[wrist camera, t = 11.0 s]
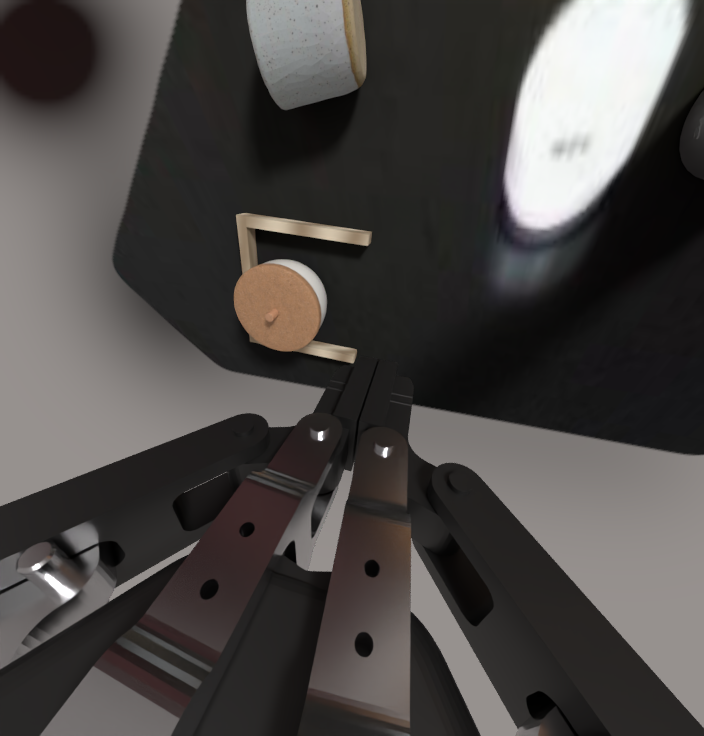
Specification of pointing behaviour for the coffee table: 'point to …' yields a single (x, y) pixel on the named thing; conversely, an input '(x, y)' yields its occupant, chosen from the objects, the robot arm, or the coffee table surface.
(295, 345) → the lidded jar
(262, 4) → the ceramic mug
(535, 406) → the coffee table surface
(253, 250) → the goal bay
